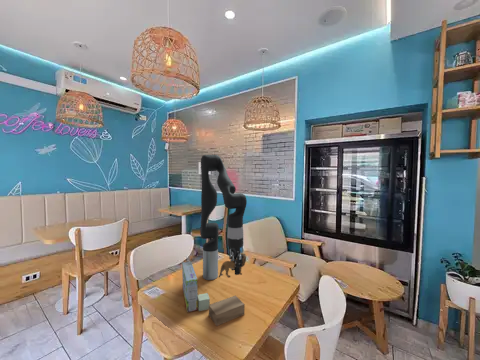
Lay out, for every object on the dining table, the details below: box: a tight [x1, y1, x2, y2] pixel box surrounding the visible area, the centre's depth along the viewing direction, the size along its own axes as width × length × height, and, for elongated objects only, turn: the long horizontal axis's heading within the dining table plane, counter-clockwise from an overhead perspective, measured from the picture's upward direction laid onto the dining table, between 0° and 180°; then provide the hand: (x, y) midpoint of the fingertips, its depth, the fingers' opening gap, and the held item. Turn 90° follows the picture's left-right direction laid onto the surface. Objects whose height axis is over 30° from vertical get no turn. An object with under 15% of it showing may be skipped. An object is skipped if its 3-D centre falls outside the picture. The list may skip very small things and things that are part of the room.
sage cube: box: [198, 292, 211, 312], centre depth 100 cm, size 5×5×5 cm
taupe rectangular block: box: [208, 295, 246, 327], centre depth 95 cm, size 8×14×5 cm, turn 122°
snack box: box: [181, 261, 199, 313], centre depth 106 cm, size 21×6×15 cm, turn 21°
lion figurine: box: [218, 252, 247, 278], centre depth 97 cm, size 15×5×9 cm, turn 123°
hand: (235, 272), depth 98 cm, fingers closed on lion figurine, 4 cm apart
